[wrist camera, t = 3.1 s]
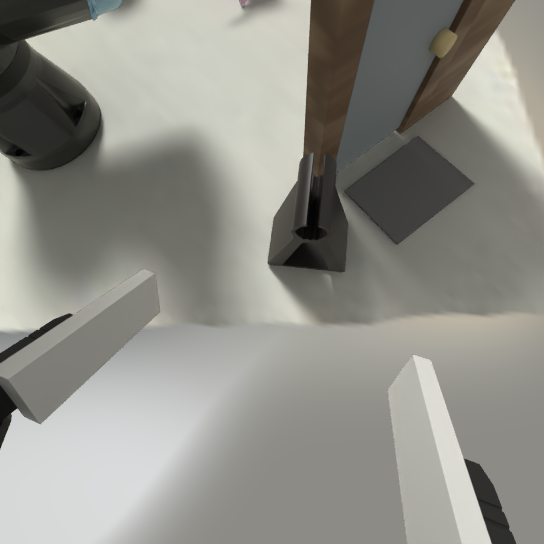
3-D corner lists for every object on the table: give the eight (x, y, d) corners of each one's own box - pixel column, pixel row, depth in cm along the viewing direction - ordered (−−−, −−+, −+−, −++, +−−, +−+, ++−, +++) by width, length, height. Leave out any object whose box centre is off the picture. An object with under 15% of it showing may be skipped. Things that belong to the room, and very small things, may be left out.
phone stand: (347, 224, 30) (381, 155, 18) (344, 272, 28) (378, 231, 17) (274, 218, 31) (261, 149, 19) (267, 264, 29) (249, 220, 18)
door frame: (301, 185, 31) (324, -268, 8) (437, 85, 33) (799, -536, 9) (313, 198, 31) (378, -249, 7) (451, 95, 33) (873, -539, 9)
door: (338, 183, 30) (426, -117, 10) (324, 169, 31) (381, -139, 11) (405, 133, 31) (612, -238, 11) (390, 120, 32) (560, -252, 11)
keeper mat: (345, 191, 31) (345, 190, 30) (416, 137, 32) (417, 136, 31) (397, 244, 28) (398, 243, 28) (472, 185, 29) (474, 183, 29)
